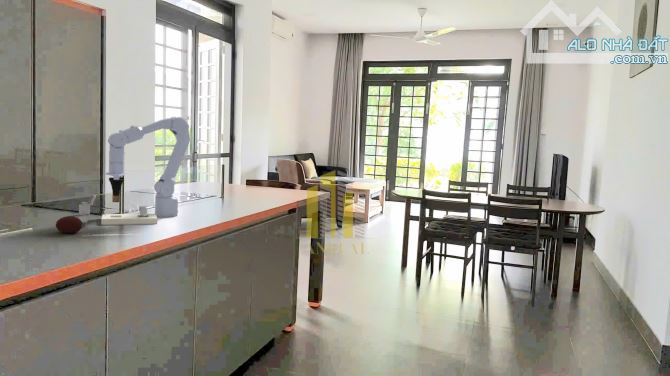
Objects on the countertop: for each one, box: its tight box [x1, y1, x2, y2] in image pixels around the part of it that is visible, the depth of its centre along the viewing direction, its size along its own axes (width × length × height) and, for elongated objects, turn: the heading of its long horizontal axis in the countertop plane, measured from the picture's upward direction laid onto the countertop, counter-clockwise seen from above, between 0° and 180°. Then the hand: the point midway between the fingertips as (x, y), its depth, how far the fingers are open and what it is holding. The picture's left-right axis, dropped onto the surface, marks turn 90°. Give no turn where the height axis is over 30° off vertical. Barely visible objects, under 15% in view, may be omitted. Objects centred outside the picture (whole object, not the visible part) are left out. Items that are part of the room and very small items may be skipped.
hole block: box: [100, 213, 158, 226], centre depth 189 cm, size 20×10×3 cm, turn 115°
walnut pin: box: [111, 193, 121, 203], centre depth 195 cm, size 3×3×8 cm
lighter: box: [78, 194, 97, 216], centre depth 201 cm, size 7×2×8 cm, turn 156°
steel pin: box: [139, 205, 148, 217], centre depth 191 cm, size 3×3×6 cm
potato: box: [55, 215, 84, 234], centre depth 168 cm, size 7×8×6 cm
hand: (116, 195), depth 195 cm, fingers closed on walnut pin, 3 cm apart
